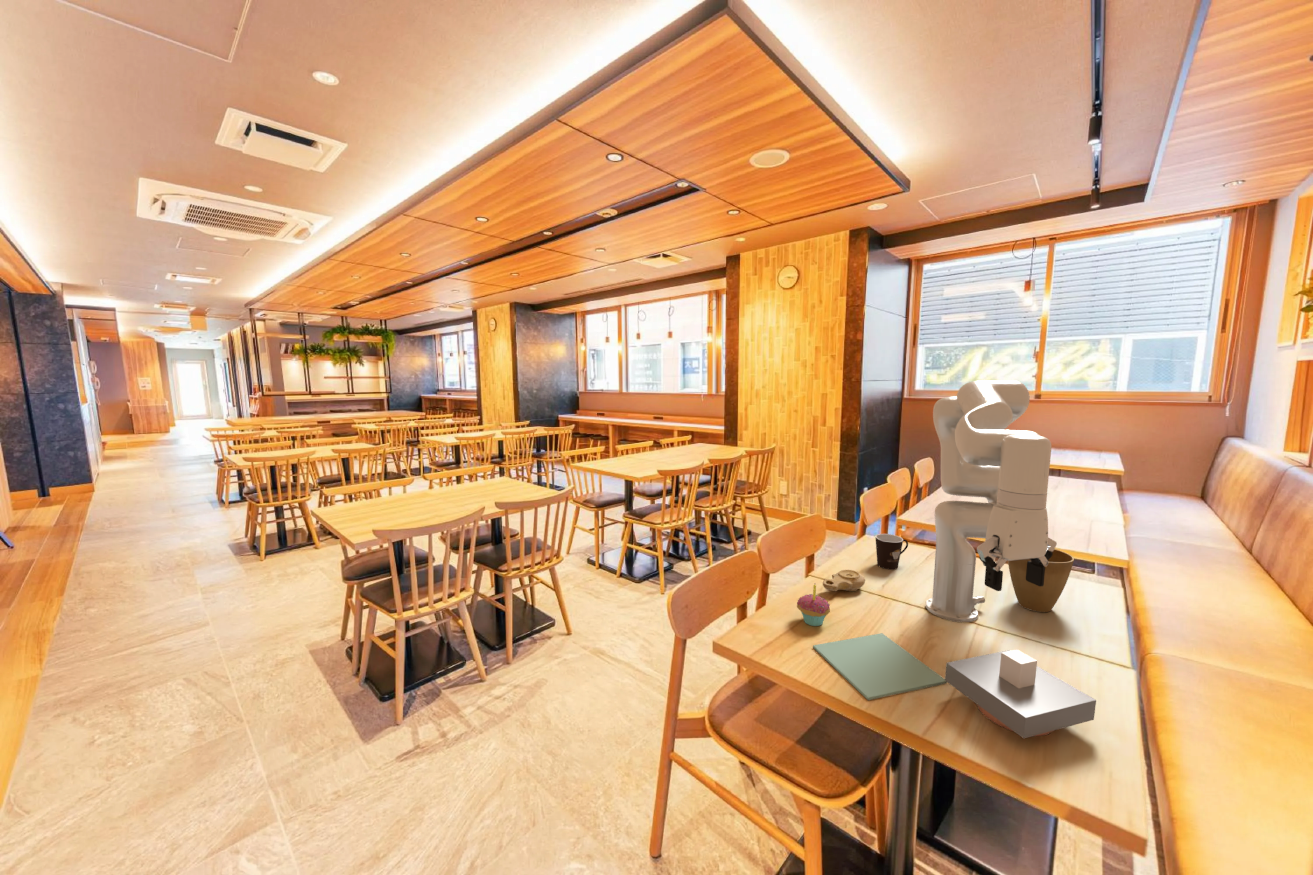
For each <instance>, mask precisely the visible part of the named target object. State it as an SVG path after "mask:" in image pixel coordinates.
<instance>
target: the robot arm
mask: <svg viewBox="0 0 1313 875" xmlns="http://www.w3.org/2000/svg"><path fill="white" fill-rule="evenodd" d="M1029 405H1030V392H1029V390H1028V387H1027V386H1026V385H1025V384H1024V383H1023V382H1021V381H1018V380H1012V379H1011V380H1009V379H1007V380H1005V379H1004V380H1001V379H1000V380H994V379H993V380H992V379H991V380H986V379H985V380H984V379H983V380H973V381H969V382H967V383H965V384H963V385H962V386H961V387H960V388H959V389H958V391H957V393H956V396H955V395H953V396H947V397H942V398H940V399H938V400H937V401H936V402H935V403H934V405H933V410H932V418H933V419H932V420H933V425H934V428H935V432H936V434H937V438H938V440H939V443H940V485H941V489H942V490H943V492H944V493H945V494H947V495H950V496H951V495H952V496H957V497H958V496H959V497H970V498H971V497H972V498H973V497H974V498H985V499H986V500H987V502H980V501H979V502H976V501H965V500H946V501H943V502H942V501H941V502H940V503H938V504H937V505H936V506H935V509H934V526H935V554H934V555H935V558H934V569H933V570H934V571H933V573H934V574H933V585H932V597H930V598H928V599H926V601H925V608H926V609H927V611H929V612H930V613H931V614H933V615H935V616H937V617H939V618H941V619H944V620H946V621H952V622H957V623H972V622H974V621H977V619H978V618H979V611H978V610H977V609H976V607H975V606H977V604H983V603H985V602H986V598H985V597H984V596H982V595H977V596H974V589H975V588H974V586H975V574H976V563H977V554H976V552H977V553H978V556H979V560H980V561H981V563H982V565H983V566H984V567H985V570H984V571H985V573H984V574H985V575H984V585H985V586H986V587H988V588H990V589H992V590H994V591H996V592H1001V591H1002V589H1003V575H1004V571H1003V570H1001V569H1002V568H1003V566H1004V565H1005V564H1006V562H1008V561H1013V560H1024V559H1030V560H1031V561H1027V569H1026V581H1028V582H1030V583H1033V584H1035V585H1037V586H1043V585H1044V575H1045V567H1044V566H1047V565H1048V563H1049V562H1048V560H1049V559H1050V558H1051V557H1052V555H1053V553H1052V551H1054V549H1056V546H1057V541H1055V540H1053V539H1052V538H1050V537H1049V519H1048V509H1047V502H1048V501H1047V499H1048V489H1049V488H1048V487H1049V479H1050V478H1049V475H1050V467H1051V456H1052V442H1051V440H1050V439H1049V438H1047V437H1045V436H1043V435H1042V436H1041V435H1040V434H1039V433H1038V432H1035V431H1032V430H1022V429H1021V430H1020V429H1017V430H1016V429H1007V428H1009V426H1010V425H1011V424H1013V423H1014V422H1015V421H1017V419H1019V418H1020V417H1022V415H1024V414H1025V413H1026V411H1027V410H1028V407H1029ZM968 538H970V539H971V538H972V539H974V538H975V539H985V541H983V542H982V543H980V544H979V545H977V547H976V550H975V548H974V547H973V546H972V544H971V543H970V542H969V541H968V540H967V539H968ZM995 559H997V560H996V561H995Z"/></svg>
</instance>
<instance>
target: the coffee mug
mask: <svg viewBox="0 0 1313 875" xmlns="http://www.w3.org/2000/svg"><path fill="white" fill-rule="evenodd" d="M874 537H875V550H876V551H875V552H876V561H877V562H876V564H877V565H876V566H878V567H879V566H880V567H879V568H882V569H884V570H890V571H893V570H897V569H898V568H899V563H900V558H901V555H902V554H903V553H904V552H905V551H906V550H907V548H908V546H909V541H908V540H906V539H903V537H901V536H899V535H896V534H895V535H894V534H891V533H890V534H889V533H879V534H875V536H874ZM904 542H905V543H906V544H905V547H904V548H902V547H903V543H904ZM902 549H903V550H902Z"/></svg>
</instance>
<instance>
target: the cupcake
mask: <svg viewBox="0 0 1313 875" xmlns="http://www.w3.org/2000/svg"><path fill="white" fill-rule="evenodd" d="M816 591H817V585H816V584H813V588H812V593H809V594H805V595H802V596H801V597H799V598H798V599H797V602H796V609H798V610H799V611H800V612H801V615H802V617H803V618H802V619H803V622H804V623H805V624H806V625H809V626H813V627H818V626H822V625H823V624H824V621H825V618H826V617H827V616H828V615H829V613H831V606H830V605H831V604H830V602H829V601H828V600H827V599H825V598H824V597H822V596H820V595H817V593H816Z"/></svg>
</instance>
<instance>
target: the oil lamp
mask: <svg viewBox="0 0 1313 875" xmlns="http://www.w3.org/2000/svg"><path fill="white" fill-rule="evenodd" d="M865 582H866V579H865V576H863V574H862V573H860V572H859V571H856V570H852V569H842V570H840V571H838V572H836V573H835V574H832V575H831V578H823V581H822V586H823V588H824V589H825V590H827V591H831V592H832V591H833V592H837V591H839V590H841V591H842V590H843V591H847V592H856V591H857V590H858V589H861V588H862V587H863V586H864V585H865Z"/></svg>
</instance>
